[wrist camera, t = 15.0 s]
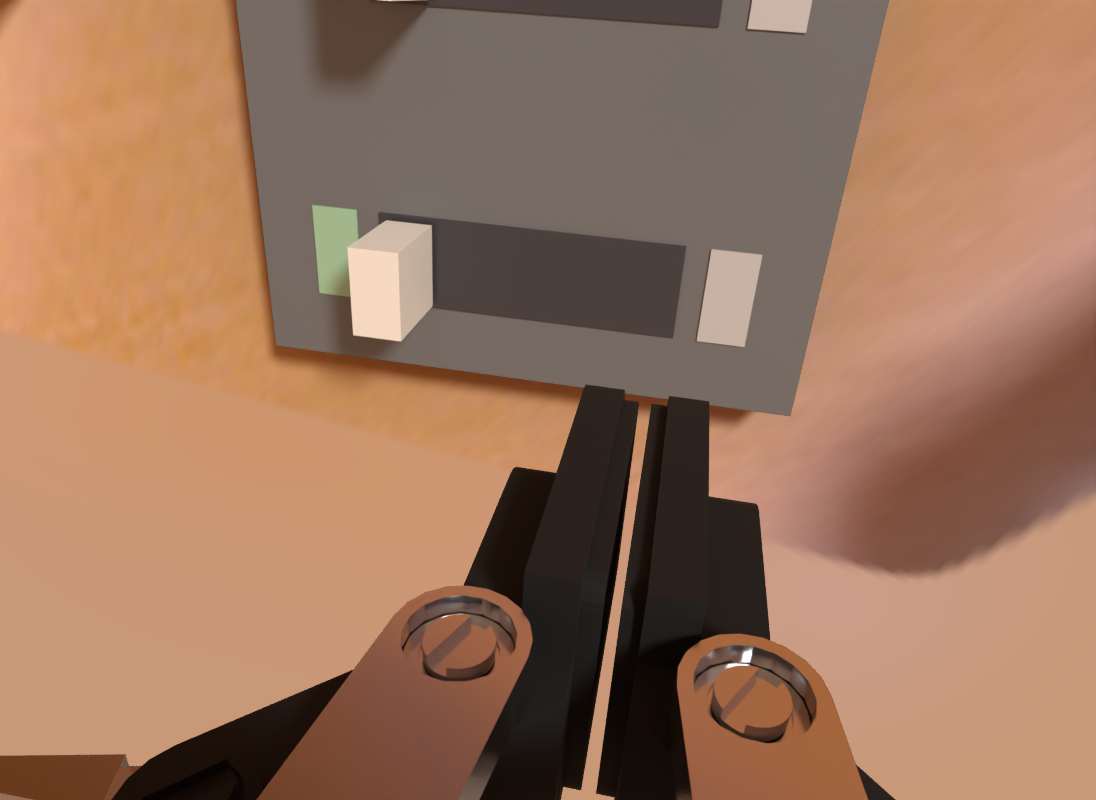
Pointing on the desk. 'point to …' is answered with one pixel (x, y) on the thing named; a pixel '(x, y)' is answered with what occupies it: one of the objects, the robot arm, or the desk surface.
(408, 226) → the block
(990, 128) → the desk surface
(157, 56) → the desk surface
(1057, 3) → the desk surface
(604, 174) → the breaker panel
